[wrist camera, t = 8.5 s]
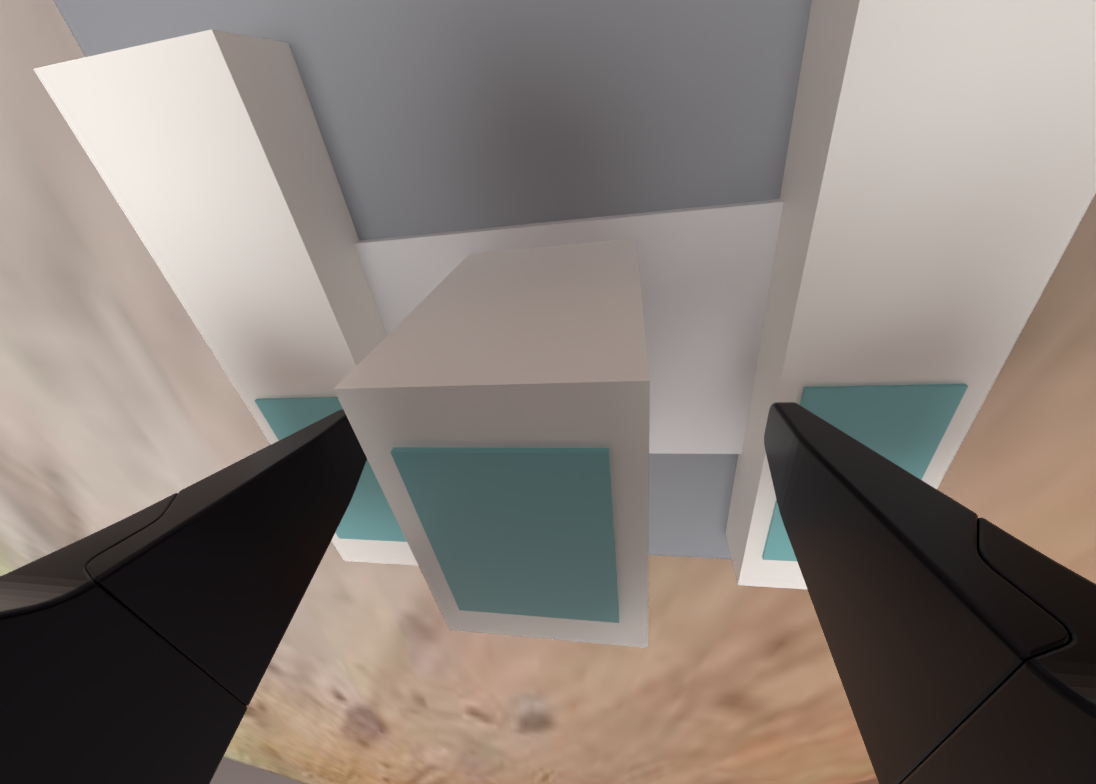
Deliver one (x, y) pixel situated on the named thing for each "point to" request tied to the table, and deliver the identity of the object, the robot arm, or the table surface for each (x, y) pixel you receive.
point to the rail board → (612, 203)
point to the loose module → (520, 441)
